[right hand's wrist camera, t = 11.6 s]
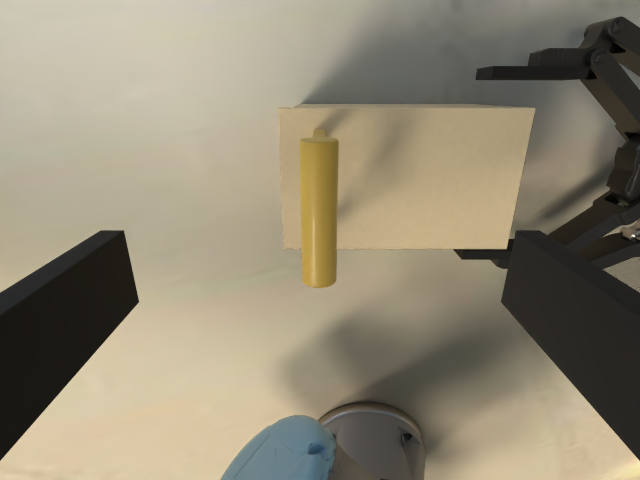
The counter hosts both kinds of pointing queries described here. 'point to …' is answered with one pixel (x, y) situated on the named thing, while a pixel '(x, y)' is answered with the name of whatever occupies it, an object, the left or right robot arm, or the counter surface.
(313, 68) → the counter surface
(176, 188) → the counter surface
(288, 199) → the lid
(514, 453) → the counter surface
